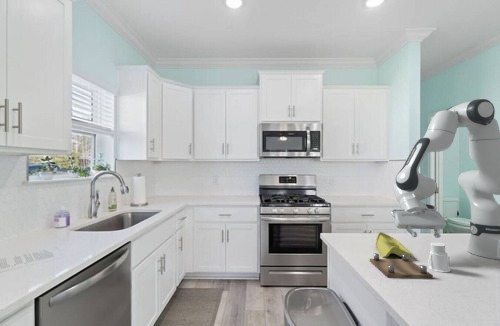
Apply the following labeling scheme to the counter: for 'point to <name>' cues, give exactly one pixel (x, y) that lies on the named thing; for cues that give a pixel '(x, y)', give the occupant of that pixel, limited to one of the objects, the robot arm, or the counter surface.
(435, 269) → the recessed downlight
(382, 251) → the plastic component
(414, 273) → the pin board
